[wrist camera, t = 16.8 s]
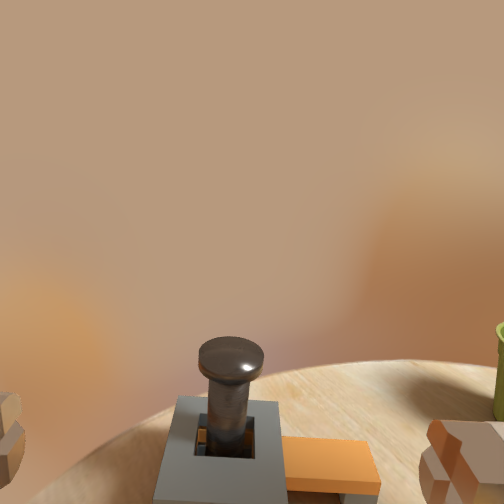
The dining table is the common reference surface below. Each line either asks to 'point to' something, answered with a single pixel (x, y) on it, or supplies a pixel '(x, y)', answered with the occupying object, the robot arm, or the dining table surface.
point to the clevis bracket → (259, 462)
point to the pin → (228, 391)
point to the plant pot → (499, 377)
